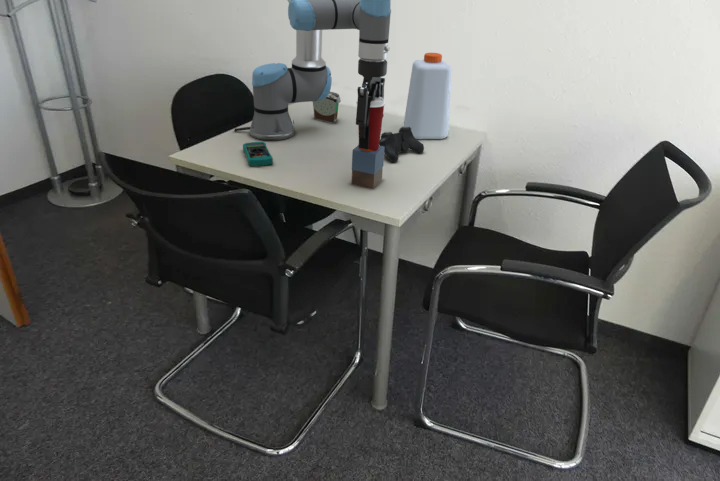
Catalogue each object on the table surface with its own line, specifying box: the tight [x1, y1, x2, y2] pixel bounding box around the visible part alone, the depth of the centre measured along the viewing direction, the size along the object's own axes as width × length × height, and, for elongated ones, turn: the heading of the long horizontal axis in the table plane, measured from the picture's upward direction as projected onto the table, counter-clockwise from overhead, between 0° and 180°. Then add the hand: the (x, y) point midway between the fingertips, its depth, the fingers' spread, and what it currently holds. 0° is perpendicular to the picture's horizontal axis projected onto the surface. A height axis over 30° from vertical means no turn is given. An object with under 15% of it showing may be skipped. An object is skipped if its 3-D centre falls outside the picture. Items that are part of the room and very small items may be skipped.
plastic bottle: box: [402, 52, 453, 140], centre depth 186 cm, size 15×15×28 cm
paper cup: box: [356, 96, 386, 151], centre depth 144 cm, size 8×8×14 cm
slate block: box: [351, 144, 385, 174], centre depth 149 cm, size 7×7×6 cm
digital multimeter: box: [242, 141, 274, 167], centre depth 166 cm, size 7×15×3 cm, turn 18°
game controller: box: [379, 126, 425, 163], centre depth 172 cm, size 16×7×10 cm, turn 134°
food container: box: [312, 91, 342, 125], centre depth 201 cm, size 12×6×10 cm, turn 58°
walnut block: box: [351, 166, 384, 190], centre depth 152 cm, size 7×7×4 cm
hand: (368, 143), depth 147 cm, fingers open, 7 cm apart
